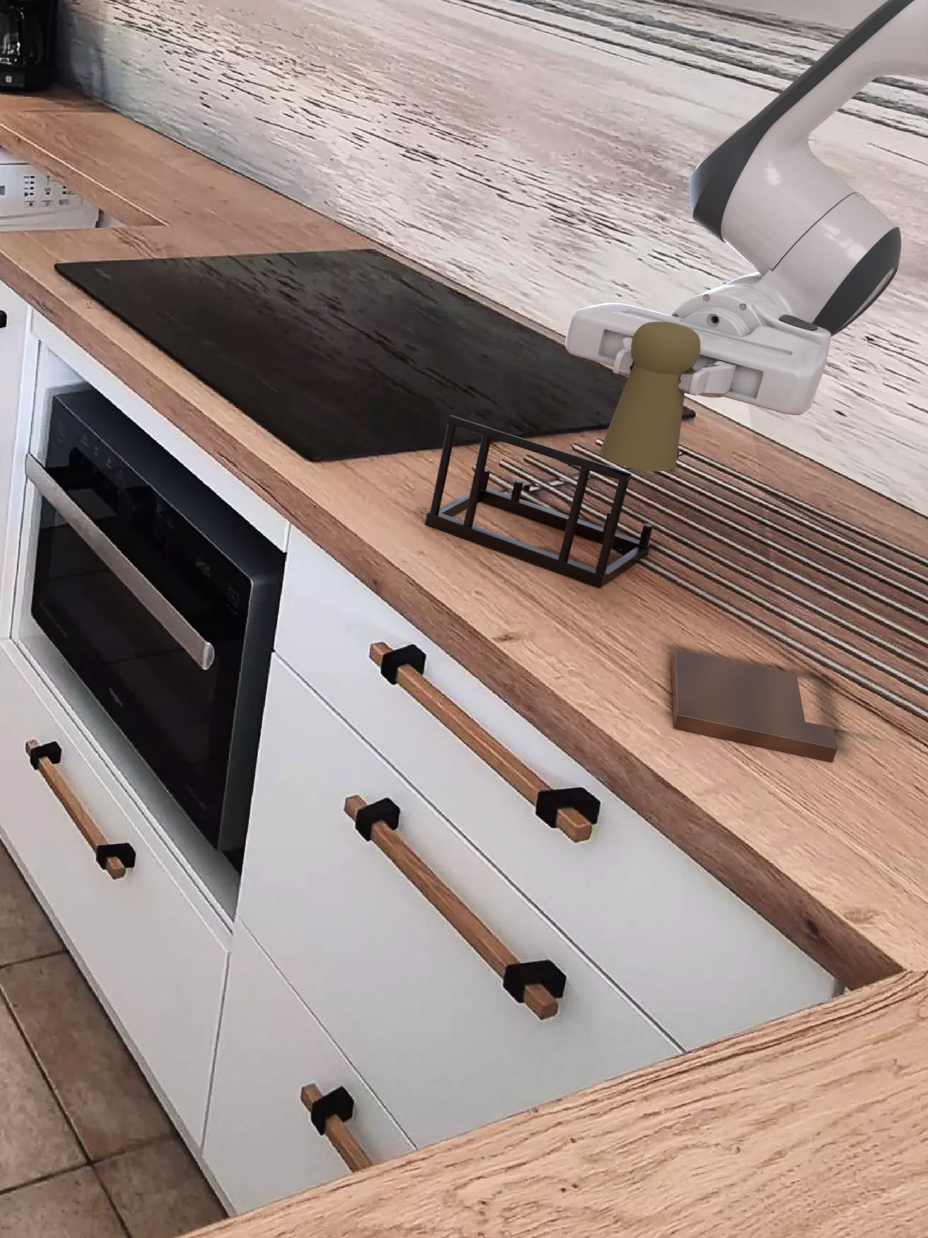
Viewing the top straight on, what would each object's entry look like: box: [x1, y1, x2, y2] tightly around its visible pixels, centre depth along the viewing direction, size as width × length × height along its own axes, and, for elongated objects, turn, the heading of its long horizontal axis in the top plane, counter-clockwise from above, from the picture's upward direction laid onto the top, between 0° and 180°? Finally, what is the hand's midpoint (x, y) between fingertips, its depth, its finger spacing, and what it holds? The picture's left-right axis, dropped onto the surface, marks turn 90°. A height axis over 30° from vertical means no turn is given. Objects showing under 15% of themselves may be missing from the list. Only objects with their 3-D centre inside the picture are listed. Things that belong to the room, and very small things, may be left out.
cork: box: [599, 322, 700, 472], centre depth 133 cm, size 6×6×11 cm
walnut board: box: [670, 649, 838, 763], centre depth 124 cm, size 11×11×1 cm
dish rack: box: [424, 415, 654, 589], centre depth 147 cm, size 10×17×10 cm, turn 51°
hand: (655, 374), depth 131 cm, fingers closed on cork, 4 cm apart
